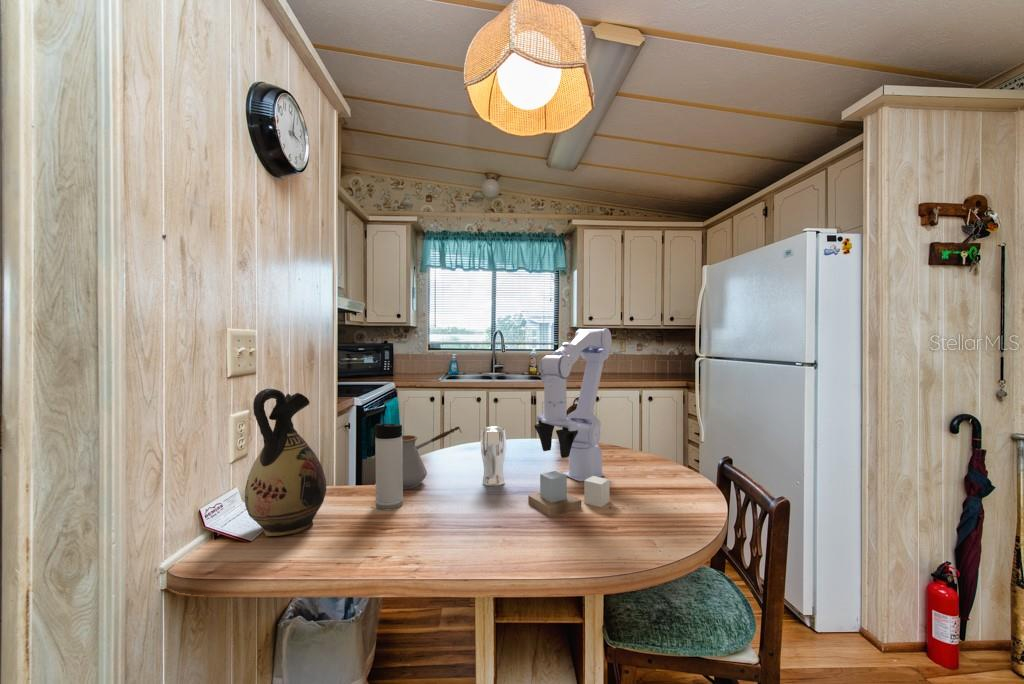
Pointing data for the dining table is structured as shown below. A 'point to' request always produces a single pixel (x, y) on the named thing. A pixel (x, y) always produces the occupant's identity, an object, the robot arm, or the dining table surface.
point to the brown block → (554, 504)
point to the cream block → (596, 491)
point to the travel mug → (389, 466)
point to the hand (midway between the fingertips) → (555, 453)
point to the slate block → (553, 486)
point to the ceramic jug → (283, 470)
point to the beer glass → (493, 454)
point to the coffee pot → (415, 459)
